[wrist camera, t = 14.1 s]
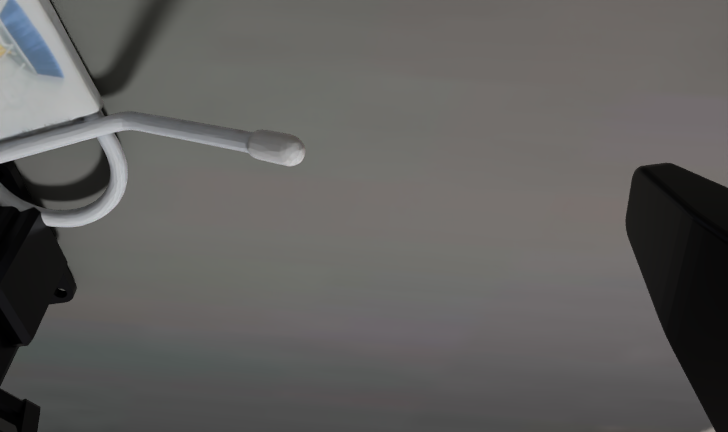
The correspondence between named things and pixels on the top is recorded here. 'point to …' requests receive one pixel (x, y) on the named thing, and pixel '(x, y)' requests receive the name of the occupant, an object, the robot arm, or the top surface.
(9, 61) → the wall mount rack
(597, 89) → the top surface
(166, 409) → the top surface
